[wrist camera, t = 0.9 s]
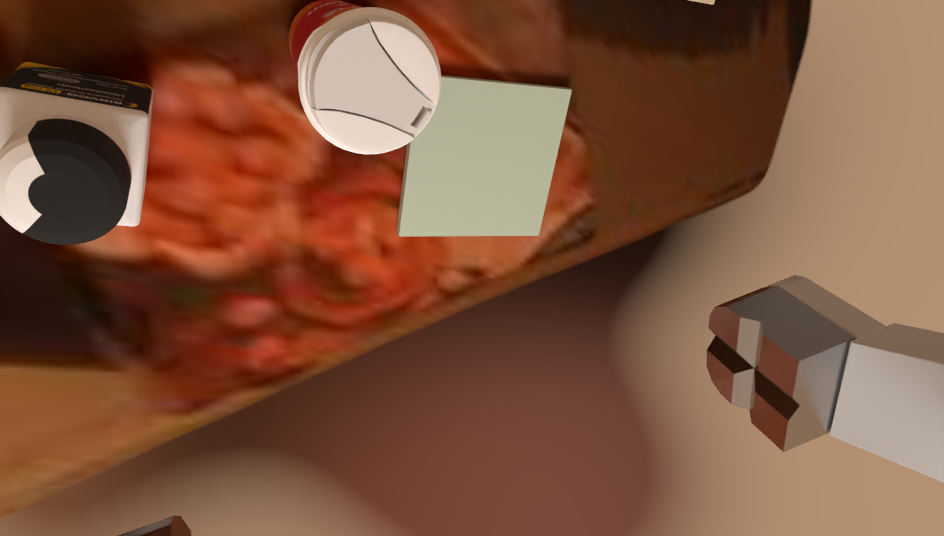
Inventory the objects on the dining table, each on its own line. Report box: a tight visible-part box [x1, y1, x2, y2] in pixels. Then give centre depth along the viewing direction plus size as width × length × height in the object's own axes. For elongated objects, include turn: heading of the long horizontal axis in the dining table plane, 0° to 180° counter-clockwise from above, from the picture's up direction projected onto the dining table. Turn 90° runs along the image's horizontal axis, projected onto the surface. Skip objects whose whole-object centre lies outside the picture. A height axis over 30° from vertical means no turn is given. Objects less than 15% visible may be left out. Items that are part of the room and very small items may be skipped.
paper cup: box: [289, 0, 441, 154], centre depth 39 cm, size 8×8×14 cm
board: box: [396, 75, 572, 236], centre depth 53 cm, size 13×13×1 cm
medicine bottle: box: [0, 62, 153, 245], centre depth 37 cm, size 7×7×12 cm
